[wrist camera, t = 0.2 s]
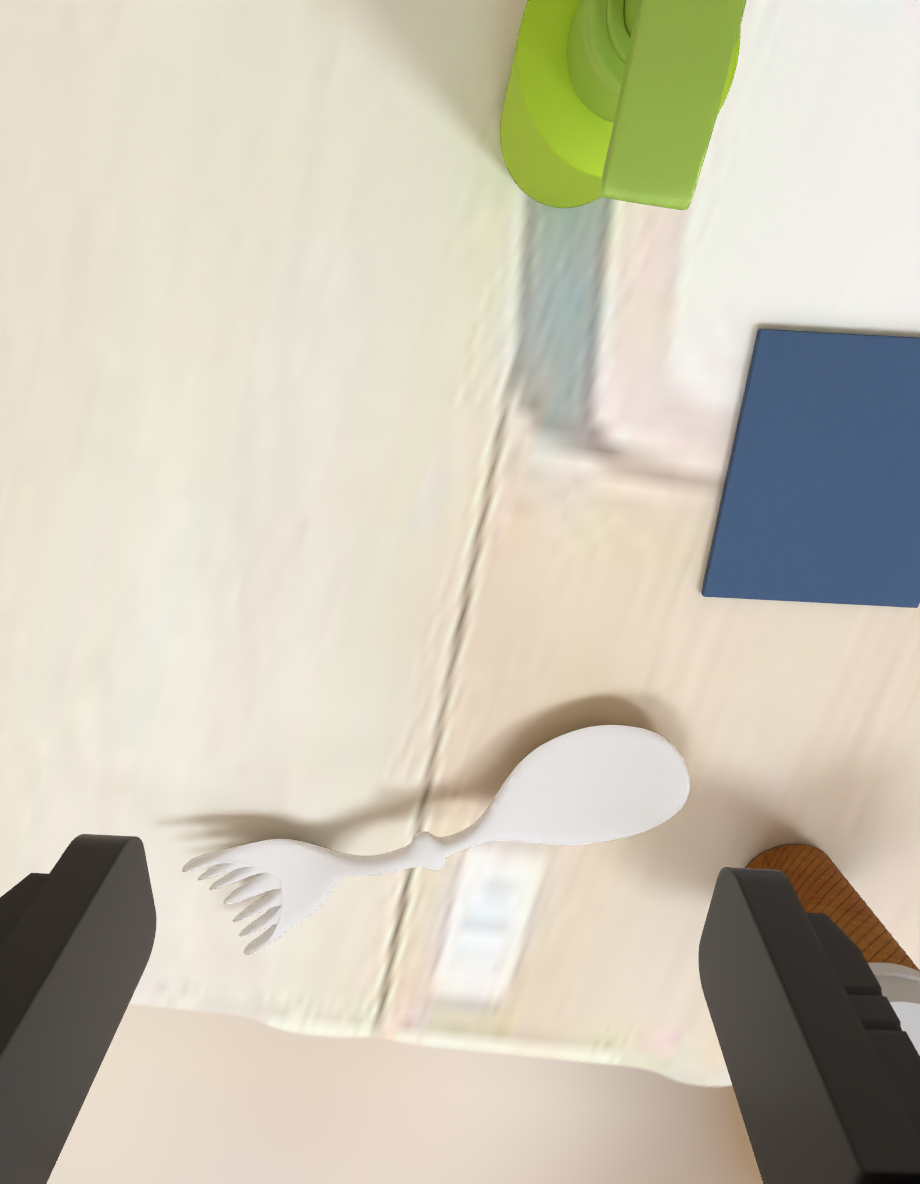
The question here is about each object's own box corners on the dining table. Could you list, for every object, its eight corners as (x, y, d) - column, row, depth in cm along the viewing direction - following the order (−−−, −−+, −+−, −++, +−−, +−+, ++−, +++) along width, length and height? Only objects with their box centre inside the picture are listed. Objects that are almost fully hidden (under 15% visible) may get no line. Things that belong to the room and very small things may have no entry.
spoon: (193, 832, 48) (174, 872, 45) (658, 687, 43) (673, 721, 40) (257, 921, 52) (244, 964, 48) (695, 798, 46) (711, 837, 43)
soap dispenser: (486, 223, 32) (505, 179, 14) (512, 36, 29) (577, -318, 11) (613, 243, 33) (791, 224, 15) (651, 59, 30) (933, -249, 12)
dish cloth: (758, 328, 34) (761, 329, 34) (1007, 342, 34) (1013, 343, 34) (701, 593, 40) (703, 596, 40) (914, 605, 40) (917, 607, 40)
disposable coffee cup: (861, 914, 50) (968, 1094, 39) (724, 937, 52) (792, 1118, 41) (856, 812, 47) (973, 981, 36) (708, 839, 48) (779, 1011, 37)
